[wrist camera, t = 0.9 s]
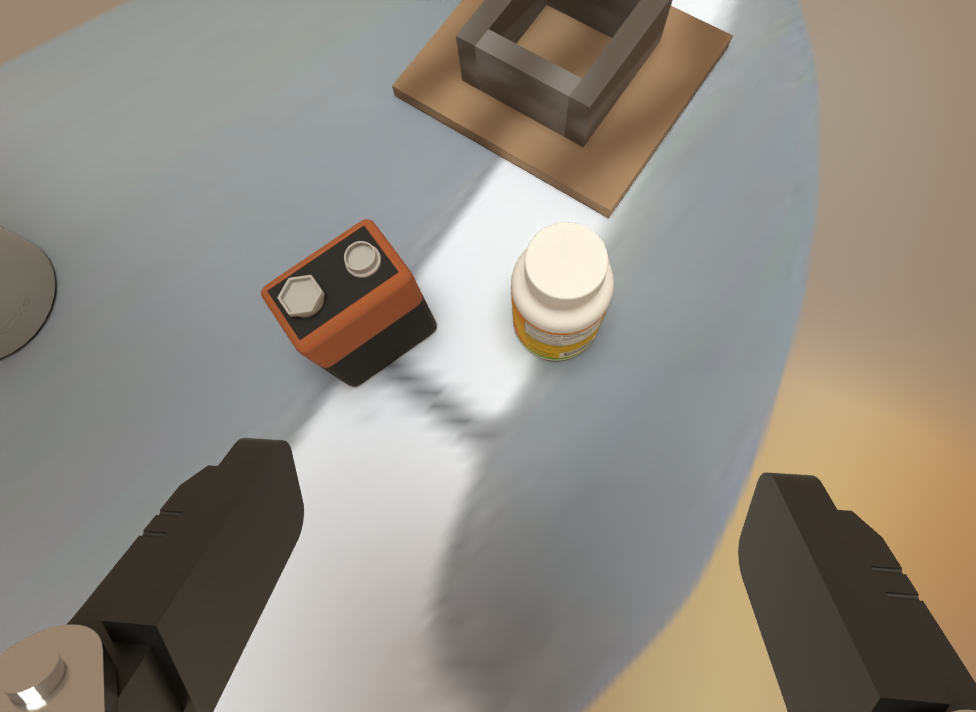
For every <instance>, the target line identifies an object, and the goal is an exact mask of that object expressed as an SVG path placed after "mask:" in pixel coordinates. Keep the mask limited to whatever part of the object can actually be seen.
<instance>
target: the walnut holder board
mask: <svg viewBox="0 0 976 712" xmlns="http://www.w3.org/2000/svg"><path fill="white" fill-rule="evenodd" d="M671 4H672V0H462V2H461V3H460V4H459V5H458V6H457V8H456V9H455V10H454V11H453V13H452V14H451V15H450V16H449V17H448V19H447V20H446V21H445V22H444V23H443V25H442V26H441V27H440V28H439V30H438V31H437V32H436V33H435V34H434V36H433V37H432V38H431V39H430V40H429V42H428V43H427V44H426V45H425V47H424V48H423V49H422V50H421V51H420V53H419V54H418V55H417V56H416V57H415V59H414V60H413V61H412V62H411V64H410V65H409V66H408V67H407V68H406V70H405V71H404V72H403V73H402V75H401V76H400V77H399V78H398V79H397V81H396V82H395V83H394V84H393V85H392V87H393V90H394V93H395V96H397V97H398V98H400V99H402V100H404V101H405V102H407V103H409V104H411V105H412V106H414V107H416V108H418V109H419V110H421V111H423V112H425V113H426V114H428V115H430V116H432V117H433V118H435V119H437V120H439V121H440V122H442V123H444V124H445V125H447V126H449V127H451V128H452V129H454V130H456V131H458V132H459V133H461V134H463V135H465V136H466V137H468V138H470V139H472V140H473V141H475V142H477V143H479V144H480V145H482V146H484V147H486V148H487V149H489V150H491V151H493V152H494V153H496V154H498V155H500V156H501V157H503V158H505V159H506V160H508V161H510V162H512V163H513V164H515V165H517V166H519V167H520V168H522V169H524V170H526V171H527V172H529V173H531V174H533V175H534V176H536V177H538V178H540V179H541V180H543V181H545V182H547V183H548V184H550V185H552V186H554V187H555V188H557V189H559V190H560V191H562V192H564V193H566V194H567V195H569V196H571V197H573V198H574V199H576V200H578V201H580V202H581V203H583V204H585V205H587V206H588V207H590V208H592V209H594V210H595V211H597V212H599V213H601V214H602V215H604V216H606V217H608V218H609V217H610V215H611V214H612V212H613V211H614V210H615V208H616V207H617V205H618V204H619V202H620V201H621V200H622V198H623V197H624V195H625V194H626V192H627V191H628V189H629V188H630V187H631V185H632V184H633V182H634V181H635V179H636V178H637V177H638V175H639V174H640V172H641V171H642V169H643V168H644V167H645V165H646V164H647V162H648V161H649V159H650V158H651V156H652V155H653V154H654V152H655V151H656V149H657V148H658V146H659V145H660V144H661V142H662V141H663V139H664V138H665V136H666V135H667V133H668V132H669V131H670V129H671V128H672V126H673V125H674V123H675V122H676V121H677V119H678V118H679V116H680V115H681V113H682V112H683V111H684V109H685V108H686V106H687V105H688V103H689V102H690V100H691V99H692V98H693V96H694V95H695V93H696V92H697V90H698V89H699V88H700V86H701V85H702V83H703V82H704V80H705V79H706V78H707V76H708V75H709V73H710V72H711V70H712V69H713V67H714V66H715V65H716V63H717V62H718V60H719V59H720V57H721V56H722V55H723V53H724V52H725V50H726V49H727V47H728V46H729V43H730V41H731V39H732V37H733V35H731V34H729V33H726V32H724V31H722V30H720V29H718V28H716V27H714V26H712V25H710V24H708V23H706V22H704V21H701V20H699V19H697V18H695V17H693V16H691V15H689V14H687V13H685V12H683V11H681V10H679V9H676V8H674V7H672V6H671Z"/></svg>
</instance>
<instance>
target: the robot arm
mask: <svg viewBox="0 0 976 712" xmlns="http://www.w3.org/2000/svg"><path fill="white" fill-rule="evenodd" d="M54 293H55V278H54V272H53V268H52V266H51V264H50V261H49V259H48V258H47V256H46V255H45V254H44V253H43V252H42V250H41V249H39V248H38V247H37V246H35V245H34V244H32V243H31V242H29V241H27V240H25V239H23V238H21V237H19V236H17V235H16V234H14V233H12V232H10V231H8V230H6V229H4V228H2V227H0V358H2V357H4V356H6V355H9V354H11V353H12V352H14V351H15V350H17V349H18V348H20V347H21V346H23V345H24V344H25V343H26V342H27V341H28V340H29V339H30V338H31V337H33V336H34V335H35V333H36V332H37V331H38V329H39V328H40V327H41V325H42V324H43V323H44V321H45V319H46V317H47V315H48V313H49V311H50V309H51V306H52V302H53V298H54ZM303 519H304V505H303V499H302V495H301V491H300V486H299V482H298V477H297V473H296V468H295V464H294V459H293V455H292V451H291V447H290V445H289V444H288V442H286V441H284V440H268V439H253V438H242V439H240V440H238V441H237V442H236V443H235V444H234V446H233V447H232V448H231V450H230V451H229V452H228V454H227V455H226V456H225V457H224V459H223V460H222V461H221V463H220V464H219V465H218V466H209V465H208V466H207V467H205V468H204V469H202V470H201V471H200V472H198V473H197V474H195V475H194V476H192V477H191V478H190V479H188V480H187V481H185V482H184V483H183V484H181V485H180V486H179V487H178V488H177V490H176V491H175V492H174V493H173V495H172V496H171V497H170V498H169V499H168V501H167V502H166V503H165V504H164V506H163V507H162V508H161V509H160V514H159V515H156V516H155V517H154V518H153V519H152V520H151V522H150V523H149V524H148V525H147V527H146V528H145V529H144V530H143V531H144V533H143V535H142V536H139V537H138V538H137V539H136V540H135V542H134V543H133V544H132V545H131V546H130V548H129V549H128V550H127V551H126V553H125V554H124V555H123V556H122V558H121V559H120V560H119V561H118V563H117V564H116V565H115V566H114V567H113V569H112V570H111V571H110V572H109V574H108V575H107V576H106V577H105V579H104V580H103V581H102V582H101V584H100V585H99V586H98V587H97V588H96V590H95V591H94V592H93V593H92V595H91V596H90V597H89V598H88V600H87V601H86V602H85V603H84V605H83V606H82V607H81V608H80V610H79V611H78V612H77V613H76V614H75V616H74V617H73V618H72V619H71V620H70V621H69V622H68V623H67V625H61V626H56V627H52V628H49V629H46V630H43V631H40V632H37V633H35V634H33V635H31V636H29V637H27V638H25V639H23V640H21V641H20V642H18V643H16V644H15V645H13V646H12V647H10V648H9V649H7V650H6V651H5V652H3V653H2V654H1V655H0V712H213V711H214V709H215V707H216V705H217V703H218V701H219V699H220V697H221V695H222V693H223V691H224V689H225V687H226V685H227V683H228V681H229V679H230V677H231V674H232V672H233V670H234V668H235V666H236V664H237V662H238V660H239V658H240V656H241V654H242V652H243V650H244V648H245V646H246V644H247V642H248V640H249V638H250V636H251V634H252V632H253V630H254V628H255V626H256V624H257V622H258V620H259V618H260V616H261V614H262V612H263V610H264V608H265V606H266V604H267V602H268V600H269V598H270V596H271V594H272V592H273V590H274V588H275V585H276V583H277V581H278V579H279V577H280V575H281V573H282V571H283V569H284V567H285V565H286V563H287V561H288V559H289V557H290V555H291V553H292V551H293V549H294V547H295V545H296V543H297V541H298V539H299V536H300V533H301V530H302V525H303ZM738 555H739V565H740V571H741V575H742V579H743V582H744V585H745V587H746V590H747V593H748V596H749V599H750V602H751V605H752V608H753V611H754V614H755V617H756V620H757V623H758V626H759V629H760V631H761V634H762V637H763V640H764V643H765V646H766V649H767V652H768V655H769V658H770V661H771V664H772V667H773V670H774V672H775V675H776V678H777V681H778V684H779V687H780V690H781V693H782V696H783V699H784V702H785V705H786V708H787V711H788V712H976V683H975V681H974V680H973V678H972V677H971V675H970V674H969V672H968V670H967V669H966V667H965V666H964V664H963V663H962V661H961V660H960V658H959V656H958V655H957V653H956V652H955V650H954V649H953V647H952V645H951V644H950V642H949V641H948V639H947V638H946V636H945V635H944V633H943V631H942V630H941V628H940V627H939V625H938V624H937V622H936V621H935V619H934V617H933V616H932V614H931V613H930V611H929V610H928V608H927V606H926V605H925V603H924V602H923V601H920V600H919V598H918V595H919V594H918V592H917V591H916V589H915V588H914V586H913V585H912V583H911V581H910V580H909V578H908V577H907V575H906V574H902V567H901V566H900V564H899V563H898V561H897V560H896V558H895V557H894V555H893V554H892V552H891V550H890V549H889V547H888V546H887V544H886V543H885V541H884V539H883V538H882V537H881V536H880V535H879V534H878V533H877V532H875V531H874V530H873V529H872V528H871V527H870V526H869V525H867V524H866V523H865V522H864V521H863V520H861V518H859V517H858V516H857V515H856V514H855V513H854V512H852V511H845V510H837V508H836V507H835V505H834V503H833V502H832V500H831V498H830V496H829V495H828V493H827V491H826V489H825V488H824V486H823V485H822V483H821V481H820V480H819V479H818V478H817V477H815V476H812V475H797V474H780V473H763V474H762V475H761V476H760V478H759V480H758V482H757V485H756V488H755V491H754V494H753V497H752V501H751V504H750V507H749V511H748V514H747V517H746V520H745V523H744V526H743V529H742V532H741V536H740V540H739V550H738Z"/></svg>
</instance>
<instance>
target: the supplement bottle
mask: <svg viewBox="0 0 976 712" xmlns="http://www.w3.org/2000/svg"><path fill="white" fill-rule="evenodd" d="M613 287H614V280H613V273H612V269H611V266H610V264H609V262H608V254H607V250H606V247H605V245H604V243H603V242H602V240H601V239H600V238H599V236H598V235H597V234H596V233H594V232H593V231H592V230H590V229H589V228H587V227H585V226H582V225H580V224H576V223H569V222H568V223H557V224H553V225H551V226H548V227H546V228H544V229H543V230H541V231H540V232H539V233H537V234H536V235H535V236H534V238H533V239H532V240H531V242H530V244H529V245H528V248H527V249H526V250H525V251H524V252H523V253H522V254H521V256H520V257H519V259H518V260H517V262H516V264H515V267H514V269H513V273H512V278H511V296H512V312H513V324H514V329H515V332H516V335H517V337H518V339H519V341H520V342H521V344H522V345H523V346H524V347H525V348H526V349H527V350H528V351H529V352H531V353H532V354H534V355H536V356H538V357H540V358H543V359H546V360H552V361H559V360H566V359H570V358H573V357H575V356H577V355H579V354H580V353H582V352H583V351H584V350H586V349H587V348H588V347H589V345H590V344H591V343H592V341H593V340H594V338H595V336H596V334H597V332H598V329H599V327H600V324H601V322H602V320H603V317H604V315H605V313H606V311H607V308H608V306H609V303H610V301H611V298H612V294H613Z"/></svg>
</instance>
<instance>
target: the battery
mask: <svg viewBox="0 0 976 712" xmlns="http://www.w3.org/2000/svg"><path fill="white" fill-rule="evenodd" d="M261 296H262V298H263V299H264V301H265V303H266V304H267V306H268V307H269V309H270V310H271V312H272V313H273V315H274V316H275V318H276V319H277V321H278V322H279V324H280V325H281V327H282V328H283V330H284V331H285V333H286V334H287V336H288V338H289V339H290V341H291V342H292V344H293V345H294V347H295V348H296V350H297V351H298V352H299V353H301V354H302V355H304V356H305V357H307V358H308V359H310V360H311V361H313V362H314V363H316V364H317V365H319V366H320V367H322V368H323V369H325V370H326V371H328V372H329V373H331V374H332V375H334V376H335V377H337V378H338V379H340V380H341V381H343V382H345V383H346V384H348V385H349V386H352V387H355V386H358V385H359V384H361V383H362V382H364V381H365V380H367V379H368V378H370V377H371V376H372V375H374V374H375V373H377V372H378V371H379V370H381V369H382V368H384V367H385V366H387V365H388V364H389V363H391V362H392V361H394V360H395V359H396V358H398V357H399V356H401V355H402V354H403V353H405V352H406V351H408V350H409V349H411V348H412V347H413V346H415V345H416V344H418V343H419V342H420V341H422V340H423V339H425V338H426V337H427V336H429V335H430V334H432V333H433V332H434V331H435V330H436V327H437V324H436V321H435V319H434V317H433V315H432V313H431V311H430V309H429V307H428V305H427V303H426V301H425V299H424V297H423V295H422V293H421V291H420V289H419V287H418V285H417V283H416V281H415V279H414V277H413V275H412V273H411V271H410V270H409V269H408V267H407V266H406V264H405V263H404V262H403V260H402V259H401V258H400V256H399V255H398V254H397V252H396V251H395V250H394V248H393V247H392V246H391V244H390V243H389V242H388V240H387V239H386V238H385V236H384V235H383V234H382V232H381V231H380V230H379V228H378V227H377V226H376V225H375V223H374V222H373V221H371V220H368V219H366V220H363V221H361V222H359V223H357V224H356V225H354V226H353V227H351V228H350V229H348V230H347V231H345V232H344V233H342V234H341V235H340V236H338V237H337V238H335V239H334V240H332V241H331V242H329V243H328V244H326V245H325V246H323V247H322V248H320V249H319V250H317V251H316V252H314V253H313V254H311V255H310V256H308V257H307V258H305V259H304V260H302V261H301V262H299V263H298V264H297V265H295V266H294V267H292V268H291V269H289V270H288V271H286V272H285V273H283V274H282V275H280V276H279V277H277V278H276V279H274V280H273V281H271V282H270V283H268V284H267V285H266V286H265V287H264V288H263V289H262V291H261Z"/></svg>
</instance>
